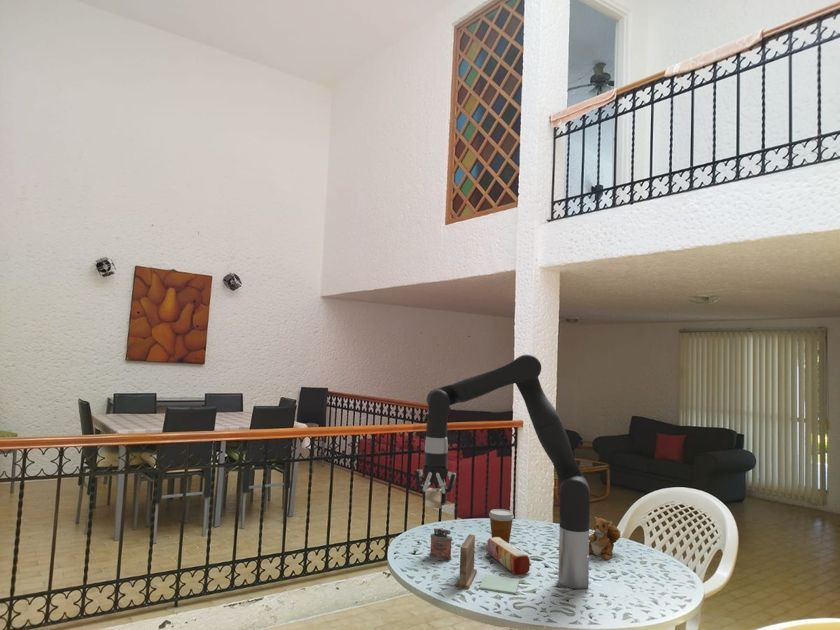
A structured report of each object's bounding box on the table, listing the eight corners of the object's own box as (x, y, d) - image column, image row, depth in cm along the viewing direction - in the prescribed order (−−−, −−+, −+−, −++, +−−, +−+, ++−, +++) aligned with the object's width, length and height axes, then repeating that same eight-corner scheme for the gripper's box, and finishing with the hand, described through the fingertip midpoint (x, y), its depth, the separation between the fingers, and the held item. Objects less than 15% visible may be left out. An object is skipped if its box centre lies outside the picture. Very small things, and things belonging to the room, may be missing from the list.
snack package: (485, 554, 202) (485, 535, 203) (501, 553, 204) (502, 534, 205) (512, 577, 182) (513, 555, 183) (530, 575, 184) (531, 554, 185)
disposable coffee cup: (483, 541, 216) (484, 509, 217) (504, 539, 220) (505, 507, 221) (496, 549, 207) (497, 516, 208) (518, 547, 211) (519, 514, 212)
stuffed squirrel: (580, 553, 207) (580, 517, 208) (600, 546, 216) (600, 511, 217) (604, 561, 200) (605, 523, 201) (624, 553, 209) (625, 517, 210)
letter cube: (443, 504, 184) (444, 488, 185) (440, 508, 179) (440, 492, 180) (428, 503, 185) (429, 487, 186) (425, 506, 181) (425, 490, 181)
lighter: (427, 556, 197) (429, 527, 198) (432, 554, 200) (433, 525, 201) (448, 561, 193) (449, 531, 194) (452, 558, 196) (453, 529, 197)
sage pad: (519, 580, 179) (519, 579, 179) (515, 594, 168) (515, 592, 168) (485, 575, 182) (485, 574, 182) (479, 588, 171) (479, 587, 171)
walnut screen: (476, 572, 184) (478, 535, 185) (468, 589, 170) (470, 548, 171) (464, 571, 185) (466, 533, 186) (455, 587, 171) (457, 546, 172)
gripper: (459, 450, 185) (458, 503, 184) (418, 447, 189) (416, 498, 188) (455, 454, 178) (453, 508, 177) (412, 450, 182) (410, 504, 181)
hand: (434, 503), depth 182 cm, fingers closed on letter cube, 5 cm apart
